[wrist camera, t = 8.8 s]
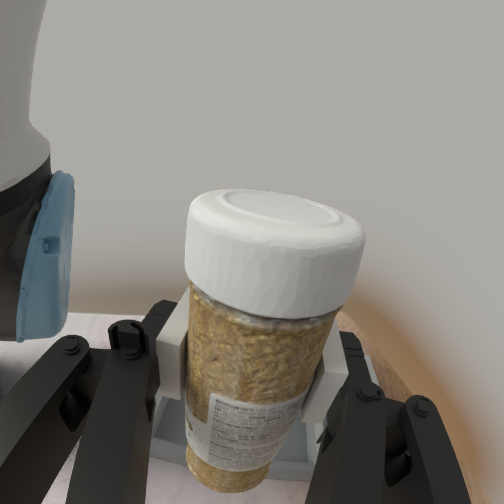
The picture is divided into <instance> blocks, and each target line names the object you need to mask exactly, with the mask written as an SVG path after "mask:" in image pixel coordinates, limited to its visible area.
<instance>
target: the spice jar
mask: <svg viewBox="0 0 504 504" xmlns="http://www.w3.org/2000/svg"><path fill="white" fill-rule="evenodd" d="M364 245H365V232H364V230H363V228H362V227H361V226H360V224H359V223H358V222H357V221H356V220H354V219H353V218H352V217H350V216H348V215H347V214H345V213H343V212H341V211H339V210H337V209H335V208H332V207H330V206H327V205H324V204H321V203H318V202H315V201H312V200H309V199H304V198H300V197H297V196H293V195H288V194H282V193H277V192H269V191H262V190H252V189H251V190H250V189H223V190H215V191H210V192H206V193H203V194H201V195H200V196H198V197H197V198H195V199H194V200H193V202H192V203H191V205H190V208H189V213H188V223H187V231H186V245H185V270H186V273H187V275H188V277H189V278H190V280H189V283H188V284H189V286H190V295H189V319H188V322H189V324H188V341H187V363H186V370H185V425H186V437H187V440H188V446H187V450H186V460H187V464H188V468H189V470H190V472H191V473H192V474H193V476H194V477H195V478H196V479H197V480H198V481H199V482H201V483H202V484H203V485H205V486H207V487H209V488H211V489H213V490H216V491H218V492H227V493H237V492H244V491H247V490H249V489H252V488H254V487H255V486H257V485H258V484H259V483H261V482H262V481H263V480H264V478H265V477H266V476H267V474H268V472H269V469H270V465H271V462H272V460H273V458H274V457H275V456H276V455H277V453H278V452H279V450H280V448H281V446H282V444H283V443H284V441H285V439H286V437H287V435H288V433H289V431H290V429H291V427H292V425H293V423H294V421H295V419H296V417H297V415H298V413H299V411H300V408H301V406H302V404H303V402H304V400H305V398H306V395H307V393H308V391H309V389H310V386H311V384H312V382H313V380H314V376H315V370H316V367H317V365H318V363H319V360H320V357H321V354H322V351H323V349H324V346H325V343H326V341H327V339H328V336H329V334H330V331H331V328H332V325H333V322H334V319H335V316H336V314H337V313H338V312H339V310H340V309H341V308H342V307H343V304H344V303H345V301H346V300H347V299H348V297H349V296H350V293H351V290H352V287H353V284H354V282H355V278H356V275H357V272H358V269H359V265H360V261H361V257H362V253H363V250H364Z"/></svg>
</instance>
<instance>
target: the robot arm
mask: <svg viewBox="0 0 504 504" xmlns="http://www.w3.org/2000/svg"><path fill="white" fill-rule="evenodd" d="M46 2H47V0H0V341H17V342H18V343H22V342H23V341H24V340H30V339H42V338H51V337H54V336H55V335H57V334H58V333H59V332H60V331H61V329H62V328H63V326H64V324H65V322H66V318H67V312H68V301H69V286H70V267H71V250H72V232H73V217H74V199H75V198H74V197H75V190H74V180H73V177H72V176H71V175H70V174H67V173H63V172H62V171H57V172H55V173H54V174H52V173H51V167H50V143H49V141H48V140H47V139H46V138H45V137H44V136H43V135H42V134H41V133H40V132H38V131H37V130H36V129H35V128H34V127H33V126H32V125H31V123H30V121H29V103H30V89H31V79H32V70H33V63H34V56H35V50H36V44H37V39H38V34H39V30H40V25H41V21H42V17H43V13H44V9H45V5H46ZM189 295H190V286H189V287H188V288H187V290H186V292H185V293H184V295H183V297H182V298H181V299H180V301H179V303H176V302H171V301H167V300H162V301H160V302H158V303H156V304H155V305H154V306H153V307H152V308H151V310H150V311H149V313H148V314H147V315H146V316H145V318H144V319H143V321H142V322H139V321H135V320H121V321H117V322H115V323H114V324H112V325H111V326H110V327H109V328H108V334H109V340H110V345H111V349H96V348H90V347H89V344H88V342H87V340H86V339H84V338H83V337H81V336H78V335H67V336H64V337H62V338H60V339H59V340H57V341H56V342H55V343H54V344H53V345H52V346H51V347H50V348H49V349H48V350H47V351H46V352H45V354H44V355H43V356H42V357H41V358H40V359H39V360H38V361H37V362H36V363H35V364H34V365H33V366H32V367H31V368H30V369H29V370H28V372H27V373H26V374H25V375H24V376H23V377H22V378H21V379H20V380H19V381H18V383H17V384H16V385H15V386H14V387H13V388H12V389H11V390H10V392H9V393H8V394H7V395H6V396H5V397H4V399H3V400H2V401H1V402H0V504H41V503H42V501H43V499H44V498H45V496H46V494H47V492H48V490H49V489H50V487H51V485H52V483H53V482H54V480H55V478H56V477H57V475H58V473H59V471H60V470H61V468H62V466H63V465H64V463H65V461H66V460H67V458H68V456H69V455H70V453H71V451H72V450H73V448H74V446H75V445H76V443H77V441H78V440H79V438H80V437H81V435H82V437H81V440H80V444H79V447H78V451H77V455H76V459H75V463H74V467H73V471H72V475H71V479H70V484H69V488H68V493H67V498H66V503H65V504H145V497H146V484H147V473H148V462H149V453H150V444H151V436H152V428H153V421H154V414H155V407H156V399H155V395H156V393H157V391H158V389H159V386H160V395H162V396H166V397H169V398H173V399H176V400H181V398H182V395H183V393H184V390H185V370H186V363H187V341H188V324H189V322H188V319H189ZM325 416H327V426H326V427H325V429H324V431H323V432H322V434H321V435H320V437H319V438H318V440H317V442H316V443H317V444H319V443H320V441H321V443H320V447H319V452H318V456H317V460H316V464H315V468H314V472H313V476H312V480H311V484H310V487H309V491H308V494H307V498H306V501H305V504H381V503H382V504H471V501H470V498H469V494H468V491H467V488H466V485H465V481H464V478H463V475H462V472H461V469H460V466H459V463H458V461H457V458H456V455H455V452H454V450H453V447H452V444H451V442H450V439H449V437H448V434H447V432H446V429H445V427H444V424H443V422H442V419H441V417H440V415H439V412H438V410H437V408H436V406H435V405H434V403H433V402H432V401H431V400H430V399H428V398H426V397H424V396H420V395H414V396H411V397H410V398H409V399H407V401H406V402H405V403H403V402H399V401H395V400H392V399H389V398H386V397H385V395H384V392H383V390H382V389H381V388H380V387H379V386H378V385H377V384H375V383H373V382H372V380H371V377H370V373H369V370H368V366H367V363H366V360H365V358H364V353H363V351H362V347H361V343H360V341H359V339H358V338H357V337H356V336H355V335H354V334H353V333H351V332H343V331H339V330H338V326H337V322H336V318H335V319H334V322H333V325H332V328H331V331H330V334H329V336H328V339H327V341H326V343H325V346H324V349H323V351H322V354H321V357H320V360H319V363H318V365H317V367H316V370H315V376H314V380H313V382H312V384H311V386H310V389H309V391H308V393H307V395H306V398H305V400H304V402H303V404H302V406H301V422H307V423H322V422H323V420H324V418H325Z"/></svg>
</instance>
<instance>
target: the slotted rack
mask: <svg viewBox="0 0 504 504" xmlns="http://www.w3.org/2000/svg"><path fill="white" fill-rule="evenodd" d="M364 358H365V360H366V363H367V366H368V370H369V373H370V377H371V380H372V382H373V383H375V384H377V385H378V386H379V383H378V380H377V377H376V374H375V371H374V368H373V365H372V363H371V360H370V357H369V355H366V354H364ZM379 387H380V386H379ZM155 399H156V407H155V414H154V421H153V428H152V436H151V444H150V453H149V456H152V457H155V458H158V459H162V460H165V461H169V462H173V463H177V464H181V465H185V466H188V464H187V460H186V450H187V446H188V440H187V437H186V425H185V390H184V393H183V395H182V398H181V400H176V399H173V398H169V397H166V396H162V395H160V386H159V389H158V391H157V393H156V395H155ZM326 426H327V416H325V418H324V420H323V422H322V423H307V422H301V408H300V411H299V413H298V415H297V417H296V419H295V421H294V423H293V425H292V427H291V429H290V431H289V433H288V435H287V437H286V439H285V441H284V443H283V444H282V446H281V448H280V450H279V452H278V453H277V455H276V456H275V457H274V458H273V460H272V462H271V465H270V469H269V472H268V474H267V476H266V477H265V478H264V479H276V480H297V481H311V480H312V476H313V472H314V468H315V464H316V460H317V456H318V452H319V447H320V443H321V441H320V443H319V444H317V443H316V442H317V440H318V438H319V437H320V435H321V434H322V432H323V431H324V429H325V427H326Z"/></svg>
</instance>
